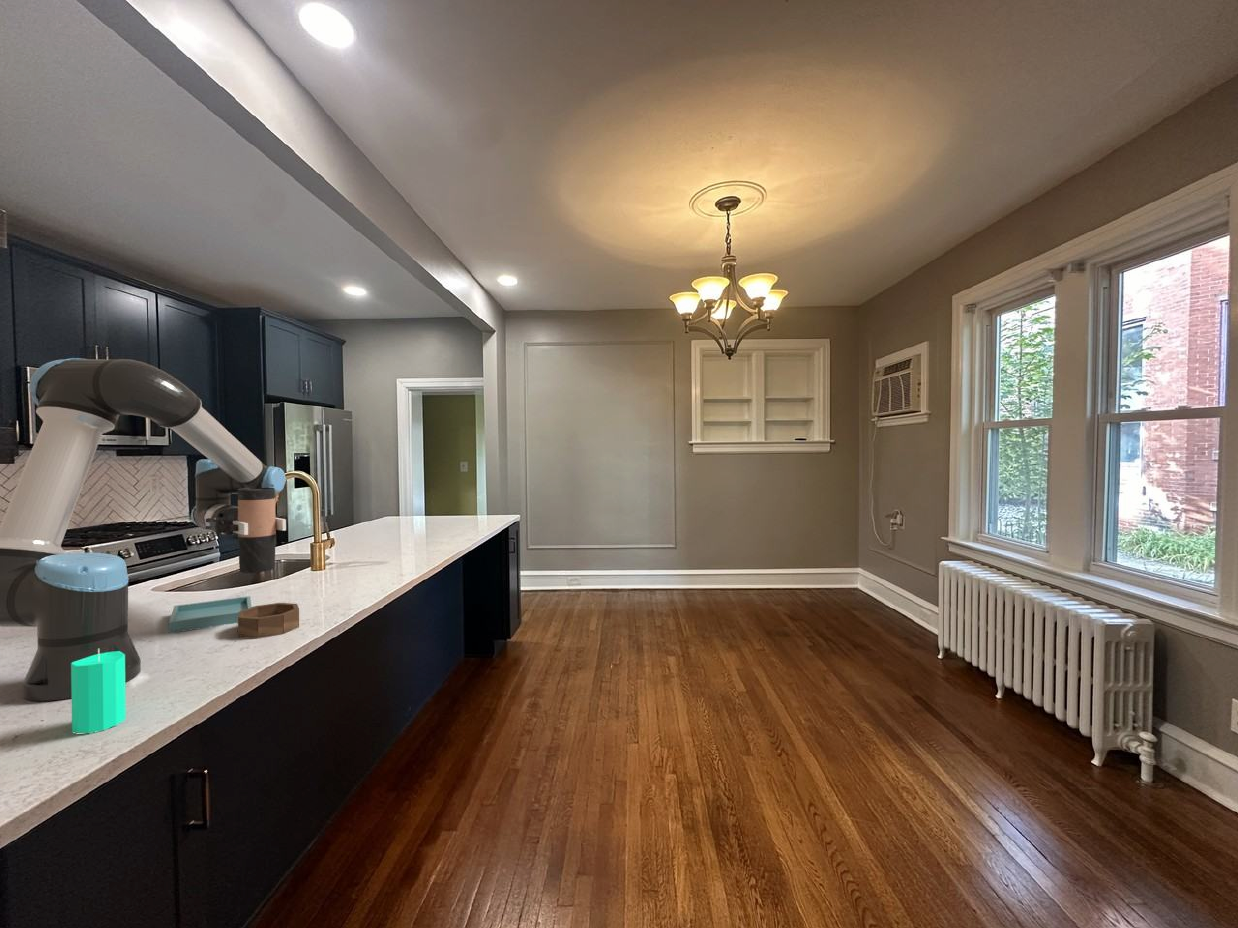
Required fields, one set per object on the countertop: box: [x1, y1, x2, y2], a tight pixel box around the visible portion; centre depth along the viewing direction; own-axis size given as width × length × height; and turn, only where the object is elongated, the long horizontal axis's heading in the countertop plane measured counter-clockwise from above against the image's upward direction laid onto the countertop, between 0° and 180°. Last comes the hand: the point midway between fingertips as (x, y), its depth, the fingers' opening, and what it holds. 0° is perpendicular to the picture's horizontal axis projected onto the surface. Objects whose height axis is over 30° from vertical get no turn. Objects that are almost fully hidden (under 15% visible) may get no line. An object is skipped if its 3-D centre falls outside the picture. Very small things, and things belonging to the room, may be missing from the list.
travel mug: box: [237, 488, 277, 574], centre depth 128 cm, size 8×8×20 cm
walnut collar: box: [237, 602, 300, 639], centre depth 125 cm, size 12×12×4 cm
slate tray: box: [168, 595, 253, 634], centre depth 133 cm, size 16×16×2 cm
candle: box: [71, 649, 127, 733], centre depth 81 cm, size 6×6×12 cm
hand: (265, 527), depth 125 cm, fingers closed on travel mug, 7 cm apart
